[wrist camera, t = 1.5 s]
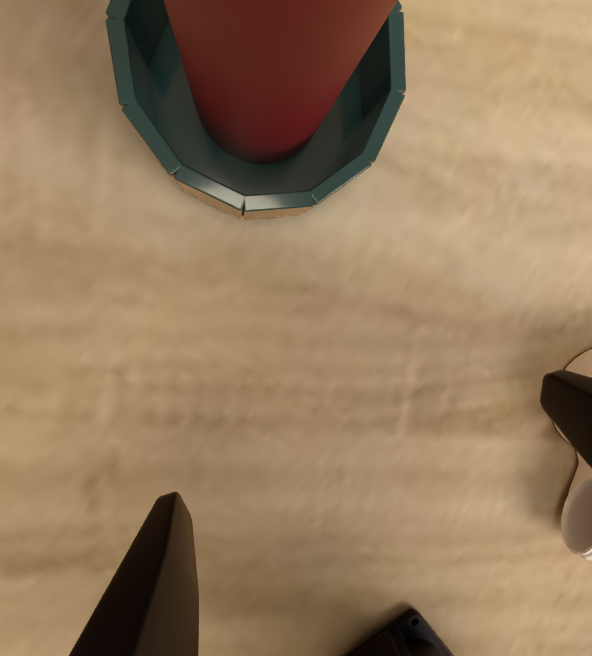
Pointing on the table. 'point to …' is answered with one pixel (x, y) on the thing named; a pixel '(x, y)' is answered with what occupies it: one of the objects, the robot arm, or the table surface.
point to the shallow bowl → (222, 168)
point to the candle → (270, 66)
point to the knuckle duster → (579, 487)
